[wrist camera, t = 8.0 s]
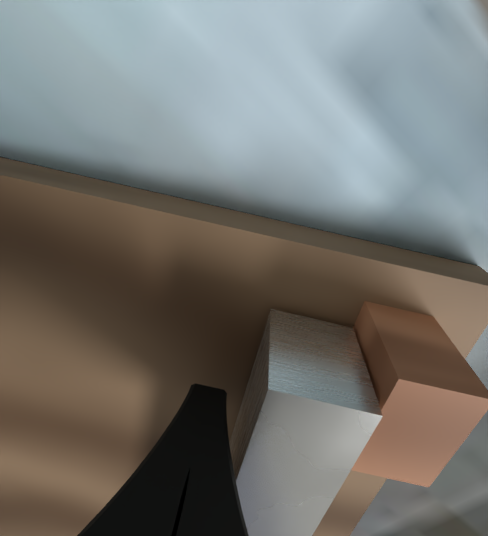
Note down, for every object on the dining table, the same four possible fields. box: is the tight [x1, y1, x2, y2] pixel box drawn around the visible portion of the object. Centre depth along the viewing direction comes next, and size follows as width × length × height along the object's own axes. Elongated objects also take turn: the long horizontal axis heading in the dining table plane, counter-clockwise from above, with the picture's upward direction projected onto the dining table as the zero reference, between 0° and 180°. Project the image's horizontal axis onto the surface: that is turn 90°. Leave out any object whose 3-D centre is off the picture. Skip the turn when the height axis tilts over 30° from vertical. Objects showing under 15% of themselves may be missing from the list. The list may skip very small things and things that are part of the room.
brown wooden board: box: [0, 157, 488, 536], centre depth 13 cm, size 21×20×4 cm
